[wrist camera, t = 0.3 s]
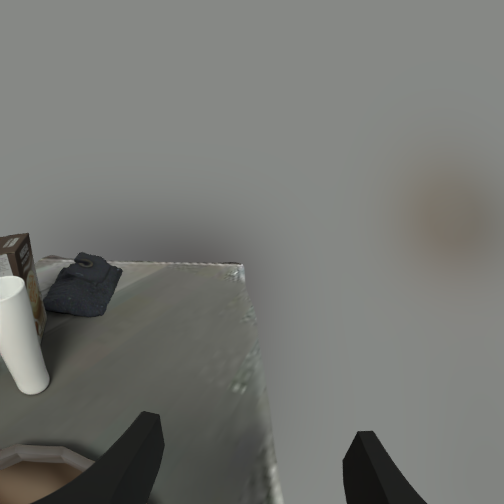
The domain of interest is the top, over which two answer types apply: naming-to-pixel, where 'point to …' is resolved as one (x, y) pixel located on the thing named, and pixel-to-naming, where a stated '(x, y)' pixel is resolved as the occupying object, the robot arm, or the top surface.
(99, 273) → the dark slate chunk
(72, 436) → the top surface
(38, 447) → the wooden tray
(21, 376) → the drinking glass
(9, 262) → the coffee box
